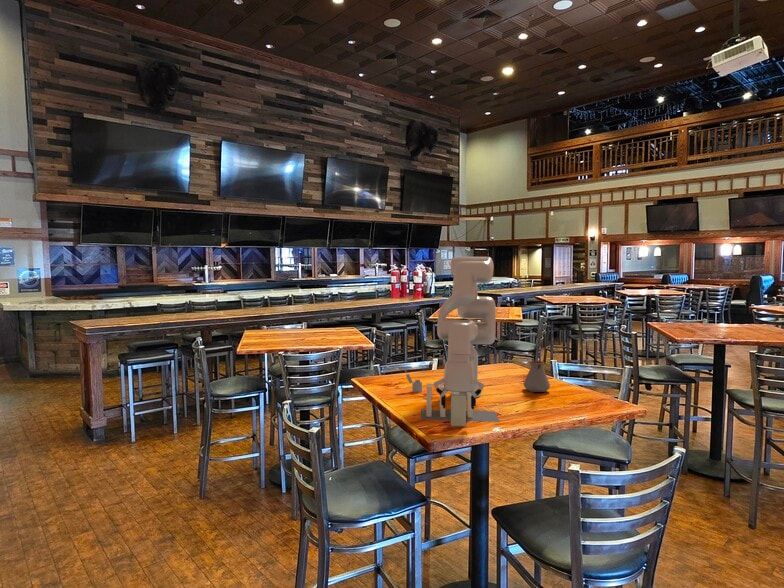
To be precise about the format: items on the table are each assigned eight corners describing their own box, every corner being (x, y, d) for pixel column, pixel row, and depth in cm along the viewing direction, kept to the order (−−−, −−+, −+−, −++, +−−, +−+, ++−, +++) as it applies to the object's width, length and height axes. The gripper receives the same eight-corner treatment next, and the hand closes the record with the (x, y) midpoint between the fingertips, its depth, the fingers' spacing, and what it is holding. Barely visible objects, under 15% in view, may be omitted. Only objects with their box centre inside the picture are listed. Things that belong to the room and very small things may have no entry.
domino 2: (440, 416, 173) (440, 387, 172) (439, 412, 178) (440, 383, 177) (445, 417, 173) (445, 387, 172) (444, 412, 178) (445, 383, 177)
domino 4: (467, 417, 172) (468, 387, 172) (466, 413, 177) (467, 384, 177) (472, 417, 172) (473, 387, 172) (471, 413, 177) (472, 384, 177)
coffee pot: (522, 386, 219) (523, 354, 218) (548, 388, 216) (549, 355, 215) (524, 399, 198) (525, 363, 197) (553, 401, 195) (554, 365, 195)
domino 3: (450, 425, 165) (451, 394, 165) (465, 425, 165) (465, 394, 164) (451, 427, 163) (451, 395, 163) (465, 427, 163) (466, 395, 162)
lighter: (421, 391, 210) (421, 373, 210) (421, 392, 209) (422, 374, 208) (405, 391, 210) (405, 373, 210) (405, 392, 208) (405, 374, 208)
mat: (420, 420, 170) (420, 419, 170) (420, 410, 182) (420, 409, 182) (499, 422, 168) (499, 421, 168) (494, 412, 180) (494, 411, 180)
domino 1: (426, 416, 173) (426, 386, 173) (426, 412, 178) (426, 383, 178) (431, 416, 173) (431, 386, 173) (431, 412, 178) (431, 383, 178)
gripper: (483, 357, 166) (482, 405, 166) (433, 355, 167) (432, 404, 168) (486, 360, 158) (485, 411, 159) (433, 359, 160) (433, 410, 160)
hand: (458, 407), depth 163 cm, fingers open, 9 cm apart
